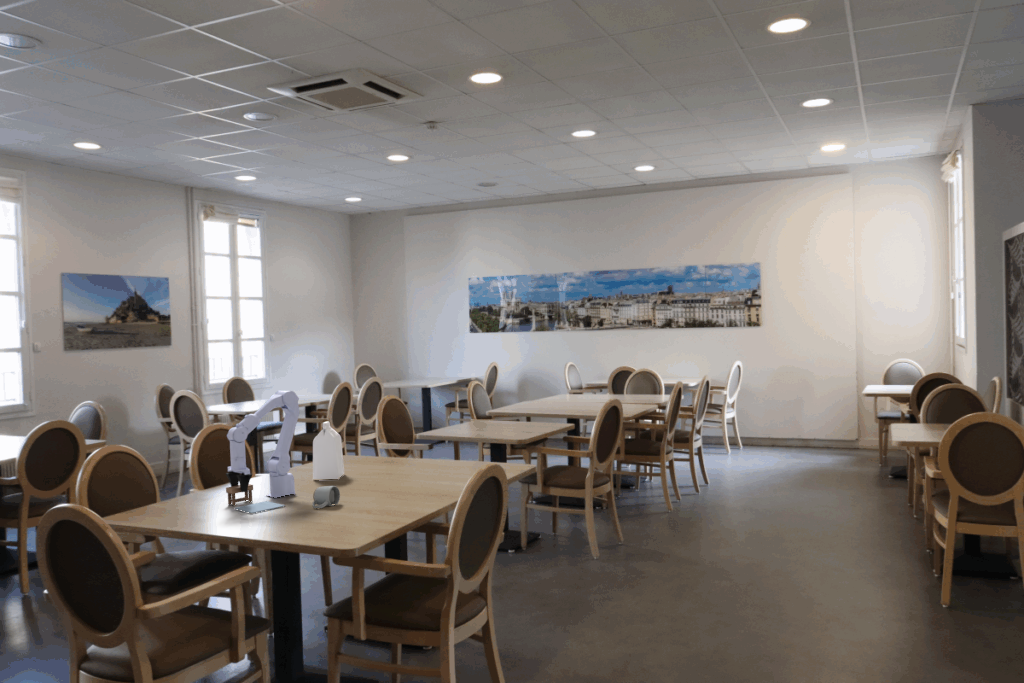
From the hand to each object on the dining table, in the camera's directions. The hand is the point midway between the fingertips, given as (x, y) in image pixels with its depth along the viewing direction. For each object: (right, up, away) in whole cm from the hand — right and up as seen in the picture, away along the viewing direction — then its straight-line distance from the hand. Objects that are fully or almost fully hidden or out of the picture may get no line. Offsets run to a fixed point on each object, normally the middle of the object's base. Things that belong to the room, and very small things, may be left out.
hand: (239, 490), depth 309 cm
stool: (0, -5, 0) cm, 5 cm away
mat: (+11, -5, -10) cm, 16 cm away
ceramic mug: (+37, -4, -11) cm, 39 cm away
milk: (+24, -4, +49) cm, 54 cm away
